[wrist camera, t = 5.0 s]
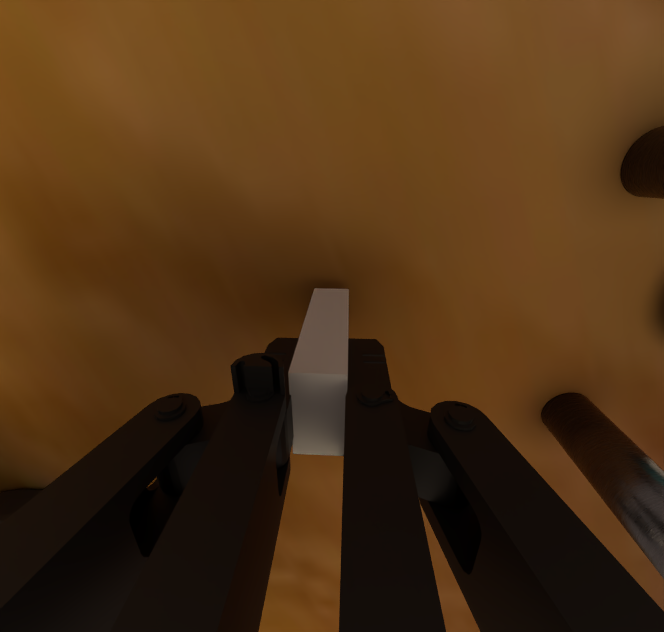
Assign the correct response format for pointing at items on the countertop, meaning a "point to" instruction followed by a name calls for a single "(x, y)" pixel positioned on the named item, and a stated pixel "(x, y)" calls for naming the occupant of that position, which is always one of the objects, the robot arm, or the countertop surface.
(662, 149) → the post
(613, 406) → the countertop surface
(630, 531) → the post
